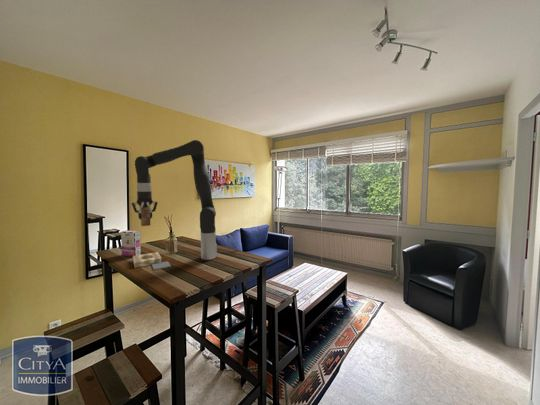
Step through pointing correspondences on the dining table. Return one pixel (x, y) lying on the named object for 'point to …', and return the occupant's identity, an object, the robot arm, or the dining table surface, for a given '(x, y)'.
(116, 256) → the dining table surface
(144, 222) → the walnut block
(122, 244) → the candy bar box
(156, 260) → the pocket frame
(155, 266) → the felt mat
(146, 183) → the robot arm
